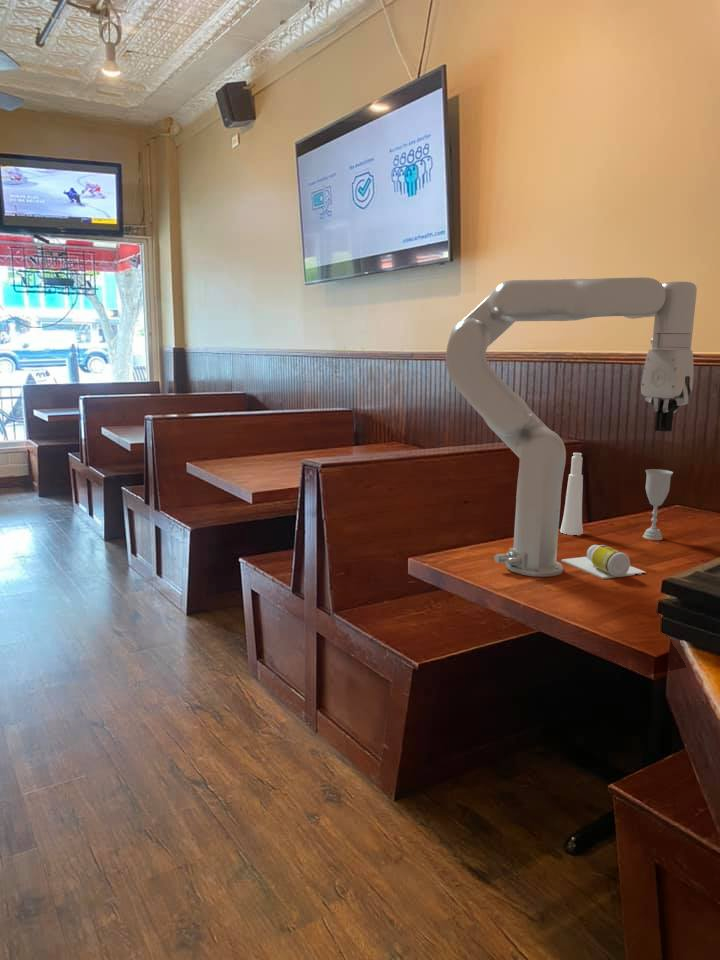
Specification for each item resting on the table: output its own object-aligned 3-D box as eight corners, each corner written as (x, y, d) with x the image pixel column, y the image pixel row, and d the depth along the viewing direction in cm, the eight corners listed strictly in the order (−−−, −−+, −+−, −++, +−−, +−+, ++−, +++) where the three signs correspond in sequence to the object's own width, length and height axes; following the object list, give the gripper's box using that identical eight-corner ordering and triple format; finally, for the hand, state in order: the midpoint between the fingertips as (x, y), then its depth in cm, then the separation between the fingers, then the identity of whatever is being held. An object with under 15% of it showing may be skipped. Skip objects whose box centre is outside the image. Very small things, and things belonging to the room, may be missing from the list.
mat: (602, 579, 151) (602, 577, 151) (561, 561, 164) (561, 559, 164) (645, 573, 156) (645, 571, 156) (601, 556, 168) (601, 554, 168)
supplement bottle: (618, 549, 150) (591, 537, 159) (605, 570, 150) (579, 558, 159) (635, 559, 151) (608, 548, 161) (623, 581, 152) (596, 568, 161)
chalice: (669, 541, 183) (676, 474, 180) (642, 540, 184) (648, 473, 181) (662, 534, 190) (668, 469, 187) (636, 533, 191) (642, 468, 188)
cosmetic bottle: (587, 535, 188) (593, 454, 184) (567, 536, 187) (573, 454, 183) (575, 529, 194) (581, 451, 190) (555, 530, 193) (561, 451, 189)
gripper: (631, 343, 151) (623, 427, 154) (687, 342, 137) (677, 435, 141) (657, 344, 154) (649, 426, 157) (714, 343, 140) (705, 434, 144)
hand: (663, 430), depth 149 cm, fingers closed
